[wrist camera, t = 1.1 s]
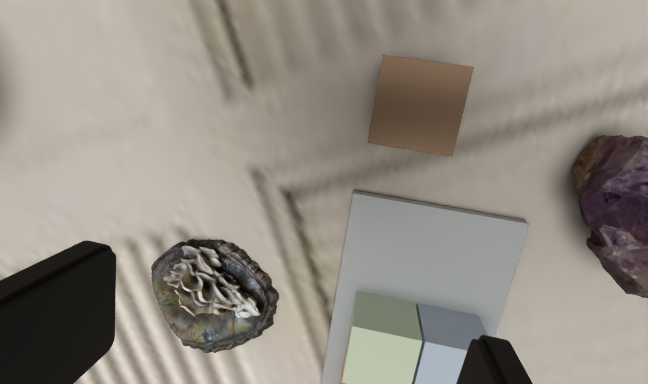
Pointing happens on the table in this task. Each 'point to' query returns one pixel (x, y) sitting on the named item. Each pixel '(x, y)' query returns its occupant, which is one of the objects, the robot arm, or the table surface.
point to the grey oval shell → (213, 294)
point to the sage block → (382, 341)
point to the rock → (617, 207)
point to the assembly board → (423, 262)
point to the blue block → (444, 343)
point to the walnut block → (419, 104)
